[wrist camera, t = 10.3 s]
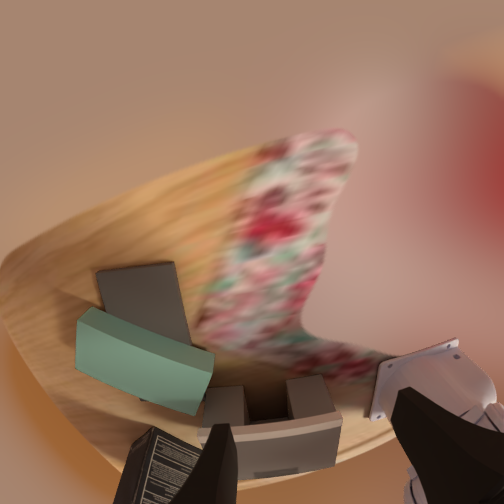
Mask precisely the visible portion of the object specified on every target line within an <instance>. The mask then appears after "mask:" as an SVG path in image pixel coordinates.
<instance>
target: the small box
mask: <svg viewBox="0 0 504 504" xmlns="http://www.w3.org/2000/svg"><path fill="white" fill-rule="evenodd" d="M201 452H202V450H200V449H198V448H196V447H194V446H191V445H189V444H187V443H185V442H183V441H181V440H179V439H177V438H175V437H173V436H171V435H169V434H167V433H165V432H164V431H162V430H160V429H158V428H156V427H152V428H151V429H149V431H148V432H146V434H144V435H143V436H142V437H141V438H139V439H138V440H137V441H135V442H134V443H133V445H131V448H130V451H129V454H128V457H127V460H126V464H125V466H124V470H123V473H122V476H121V479H120V482H119V486H118V489H117V492H116V495H115V498H114V502H113V504H168V503H169V502H170V501H171V500H172V498H173V497H174V496H175V495H176V493H177V492H178V491H179V489H180V488H181V487H182V485H183V484H184V482H185V481H186V479H187V477H188V476H189V474H190V473H191V471H192V469H193V468H194V466H195V464H196V462H197V460H198V458H199V456H200V454H201Z"/></svg>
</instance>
